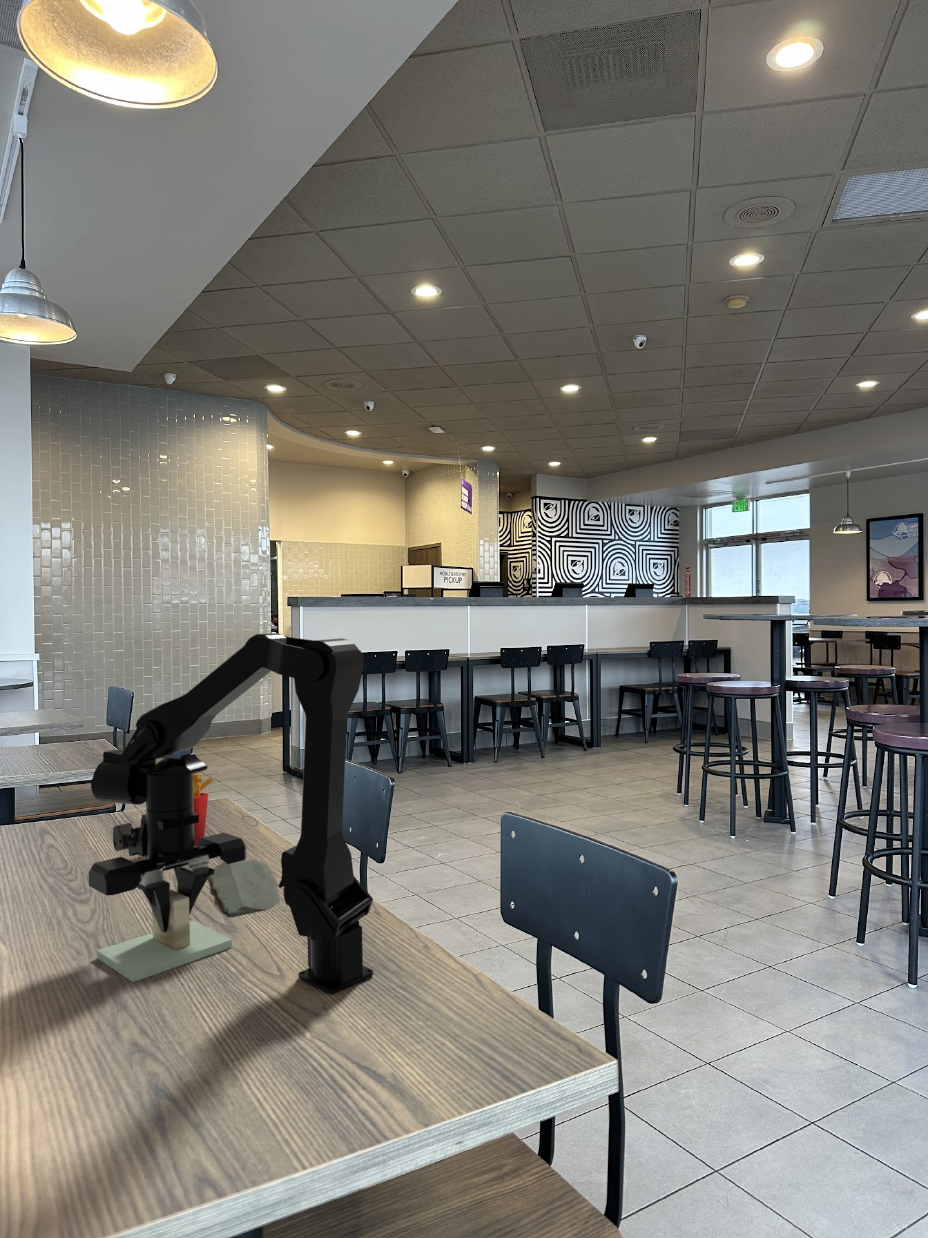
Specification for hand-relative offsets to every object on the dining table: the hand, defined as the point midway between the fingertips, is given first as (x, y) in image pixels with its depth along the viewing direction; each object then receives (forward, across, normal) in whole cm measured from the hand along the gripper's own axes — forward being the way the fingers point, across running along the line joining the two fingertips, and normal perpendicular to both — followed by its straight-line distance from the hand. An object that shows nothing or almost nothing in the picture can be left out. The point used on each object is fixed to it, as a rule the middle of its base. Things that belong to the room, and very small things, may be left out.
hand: (172, 928), depth 104 cm
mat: (+3, +1, 0) cm, 3 cm away
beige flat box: (+2, 0, 0) cm, 2 cm away
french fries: (+3, -24, -40) cm, 47 cm away
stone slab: (+4, -19, -13) cm, 23 cm away
